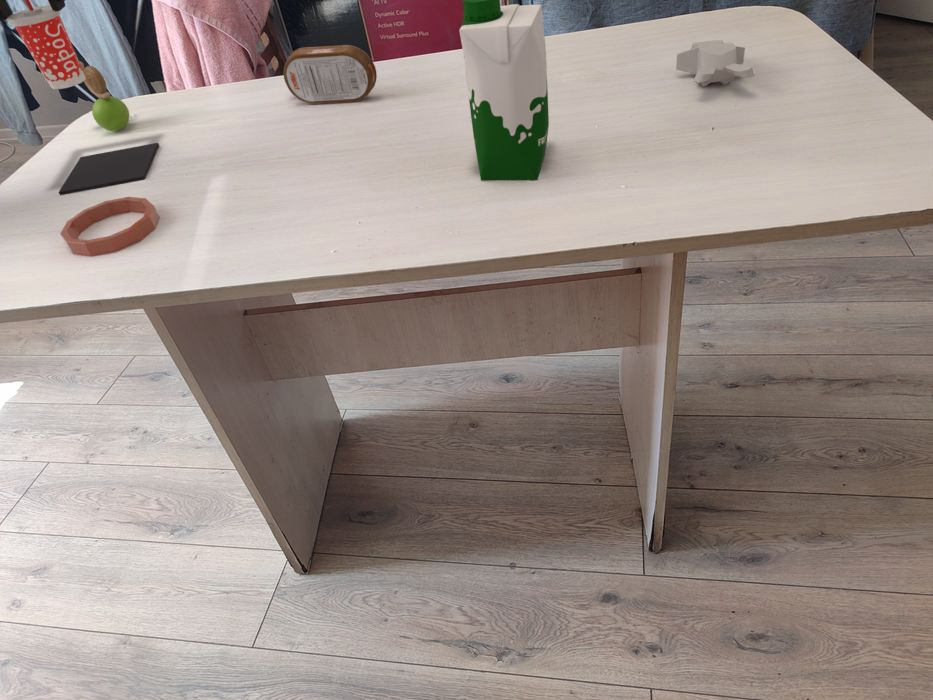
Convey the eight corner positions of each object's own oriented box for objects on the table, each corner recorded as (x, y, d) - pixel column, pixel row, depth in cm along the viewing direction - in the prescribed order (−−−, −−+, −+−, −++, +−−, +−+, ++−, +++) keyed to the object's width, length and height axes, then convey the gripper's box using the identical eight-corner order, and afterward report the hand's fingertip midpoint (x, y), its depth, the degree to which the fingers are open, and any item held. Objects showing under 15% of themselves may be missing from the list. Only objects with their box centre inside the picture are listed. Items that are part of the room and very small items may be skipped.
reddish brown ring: (63, 271, 79) (50, 250, 77) (86, 227, 87) (74, 206, 85) (153, 254, 80) (142, 232, 78) (168, 211, 88) (158, 190, 86)
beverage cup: (54, 94, 89) (-7, -24, 80) (37, 87, 92) (-23, -27, 83) (98, 78, 92) (44, -37, 83) (80, 71, 95) (26, -40, 86)
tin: (381, 95, 110) (370, 41, 105) (376, 102, 108) (365, 48, 102) (296, 99, 113) (281, 47, 108) (289, 107, 111) (274, 54, 106)
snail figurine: (120, 120, 116) (86, 47, 109) (141, 125, 113) (108, 50, 105) (92, 132, 113) (55, 59, 106) (113, 138, 110) (76, 63, 102)
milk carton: (486, 152, 90) (468, -14, 76) (554, 151, 87) (547, -20, 74) (472, 184, 83) (449, 10, 70) (545, 184, 81) (536, 4, 68)
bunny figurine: (737, 31, 101) (765, 52, 89) (734, 67, 104) (760, 93, 91) (672, 38, 102) (690, 59, 90) (670, 73, 105) (687, 99, 93)
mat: (60, 195, 96) (58, 192, 95) (82, 159, 105) (80, 156, 104) (144, 179, 96) (143, 176, 96) (159, 145, 105) (158, 142, 105)
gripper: (-152, -146, 71) (-47, 33, 83) (13, -173, 72) (94, 9, 84) (-118, -151, 77) (-24, 17, 89) (35, -176, 78) (108, -6, 90)
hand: (32, 12), depth 86 cm, fingers closed on beverage cup, 6 cm apart
